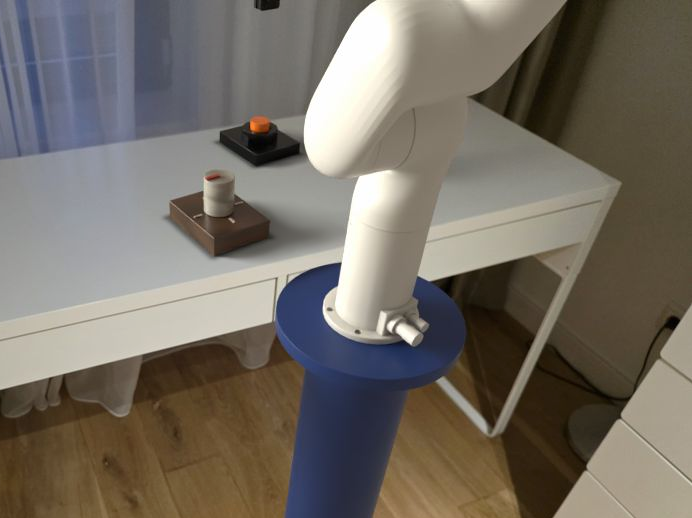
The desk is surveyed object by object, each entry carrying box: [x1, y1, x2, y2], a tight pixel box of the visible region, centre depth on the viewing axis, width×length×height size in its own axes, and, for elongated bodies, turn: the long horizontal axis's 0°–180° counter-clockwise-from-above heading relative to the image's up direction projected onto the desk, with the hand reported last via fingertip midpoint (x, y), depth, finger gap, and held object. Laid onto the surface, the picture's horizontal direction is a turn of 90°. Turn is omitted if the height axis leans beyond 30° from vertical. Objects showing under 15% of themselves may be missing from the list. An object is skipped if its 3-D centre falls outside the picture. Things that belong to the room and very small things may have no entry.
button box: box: [218, 120, 301, 167], centre depth 122 cm, size 12×10×4 cm
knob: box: [203, 169, 236, 217], centre depth 98 cm, size 5×5×6 cm
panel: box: [168, 190, 271, 257], centre depth 101 cm, size 13×10×3 cm
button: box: [249, 116, 271, 132], centre depth 121 cm, size 4×4×2 cm
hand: (266, 8), depth 90 cm, fingers closed
